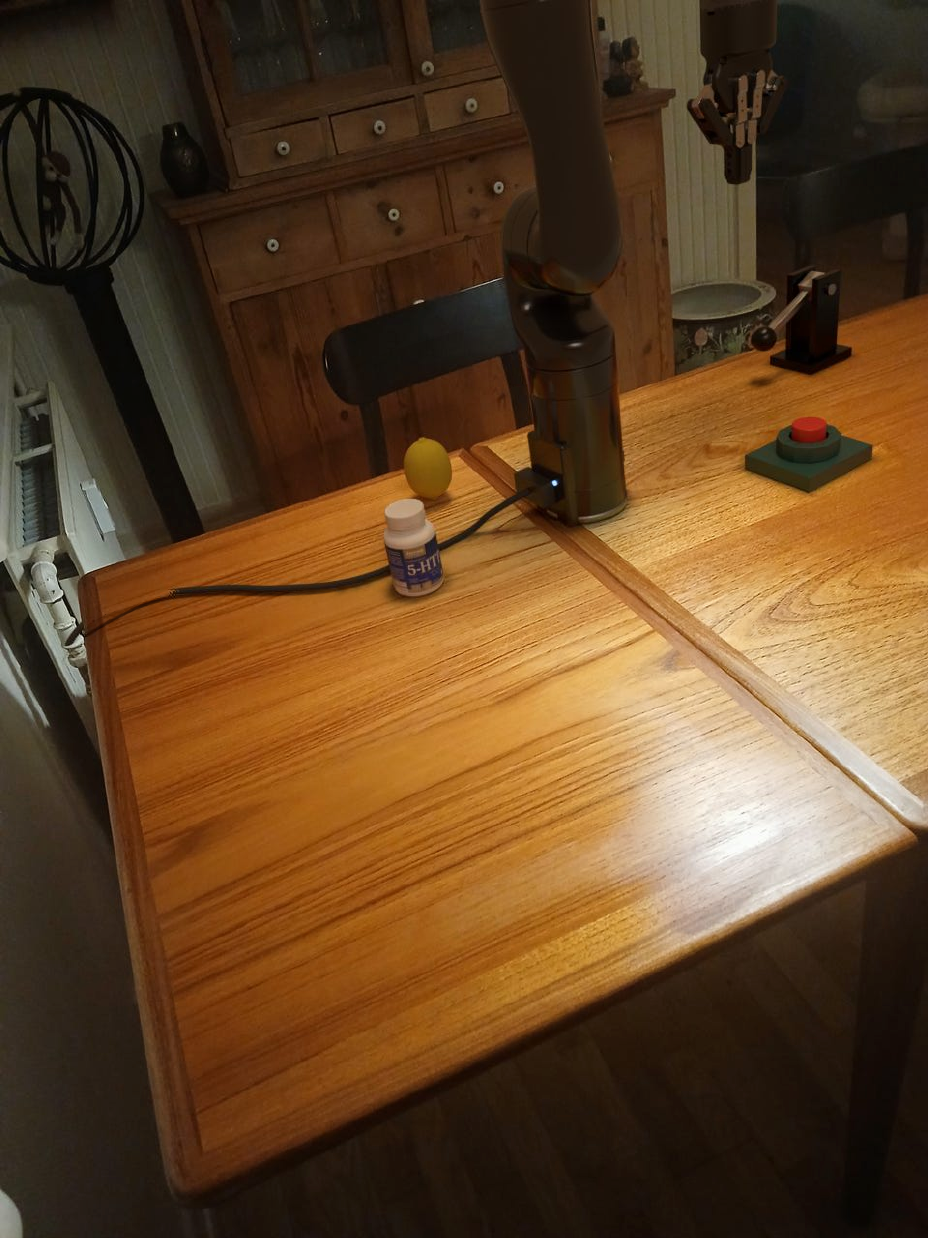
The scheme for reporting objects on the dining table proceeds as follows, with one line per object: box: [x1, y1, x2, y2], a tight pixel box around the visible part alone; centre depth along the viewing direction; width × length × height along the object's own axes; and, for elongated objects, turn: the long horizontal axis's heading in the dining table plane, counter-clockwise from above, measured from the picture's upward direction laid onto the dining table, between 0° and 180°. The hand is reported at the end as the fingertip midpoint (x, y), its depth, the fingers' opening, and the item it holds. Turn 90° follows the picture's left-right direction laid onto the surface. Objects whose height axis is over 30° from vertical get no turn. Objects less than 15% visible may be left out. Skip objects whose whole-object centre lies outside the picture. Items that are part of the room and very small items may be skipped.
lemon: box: [403, 437, 453, 501], centre depth 111 cm, size 6×6×8 cm
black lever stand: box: [769, 265, 853, 375], centre depth 126 cm, size 8×7×12 cm
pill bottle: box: [382, 498, 445, 597], centre depth 96 cm, size 5×5×9 cm
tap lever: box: [750, 270, 826, 353], centre depth 124 cm, size 13×3×3 cm, turn 123°
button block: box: [744, 423, 874, 493], centre depth 105 cm, size 10×9×4 cm
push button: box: [791, 416, 828, 443], centre depth 104 cm, size 4×4×2 cm
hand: (738, 182), depth 105 cm, fingers closed
